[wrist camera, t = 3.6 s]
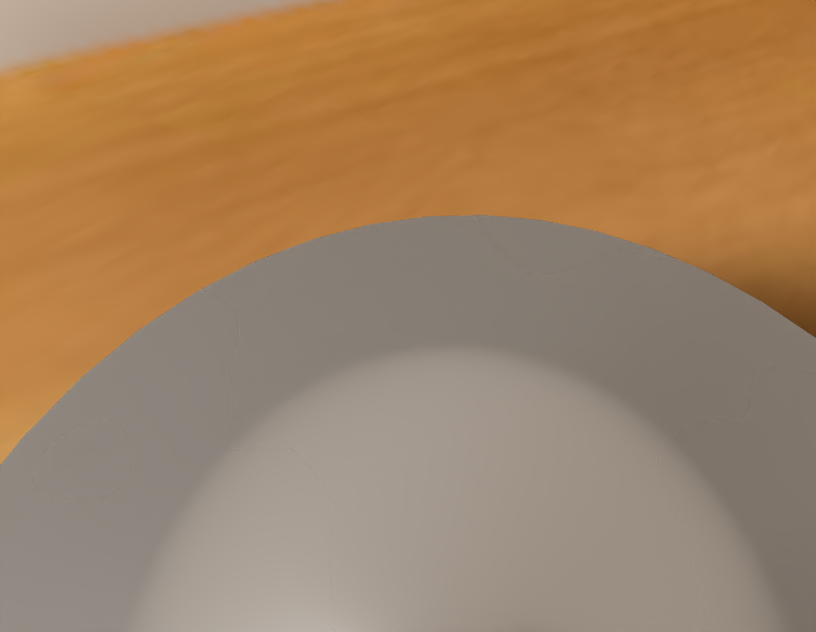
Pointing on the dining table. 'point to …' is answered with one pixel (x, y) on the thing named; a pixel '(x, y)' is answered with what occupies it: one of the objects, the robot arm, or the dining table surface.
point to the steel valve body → (430, 449)
